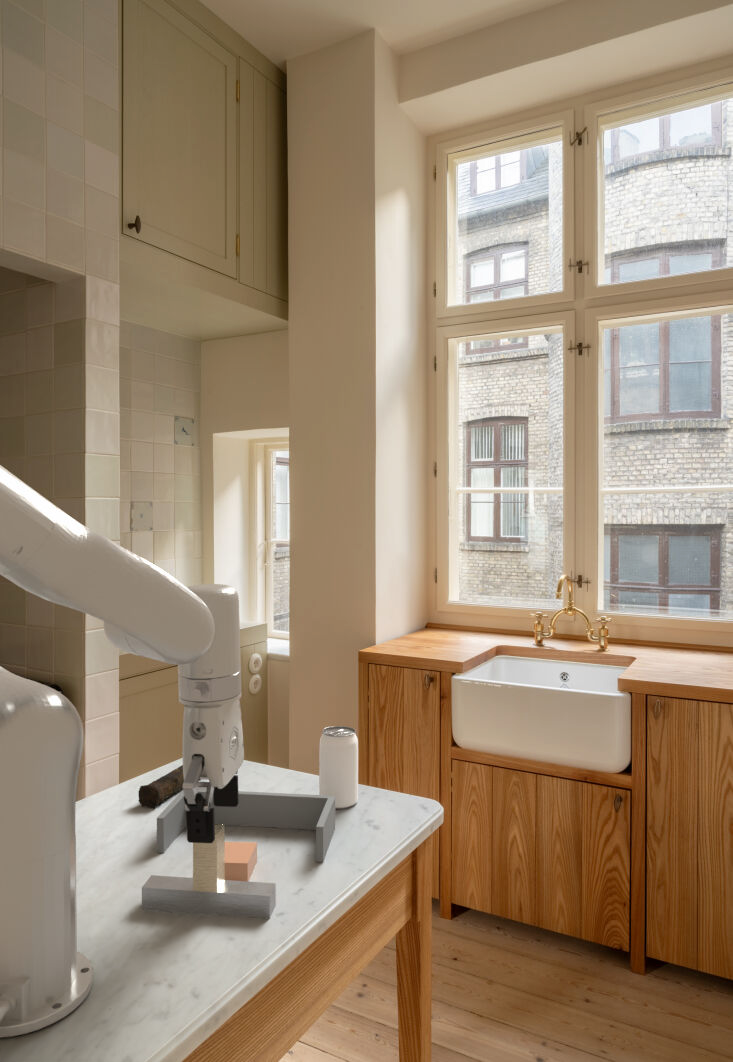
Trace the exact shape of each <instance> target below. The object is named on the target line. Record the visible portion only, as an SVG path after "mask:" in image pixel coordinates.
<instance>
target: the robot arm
mask: <svg viewBox="0 0 733 1062" xmlns="http://www.w3.org/2000/svg"><path fill="white" fill-rule="evenodd" d="M0 576H2V577H4V578H5V579H7V580H8V581H10V582H11V583H13V584H15V585H16V586H18V588H21V589H22V590H24V591H25V592H28V593H30V594H33V595H35V596H37V597H39V598H41V599H42V600H45V601H48V602H50V603H54V604H56V605H60V606H63V607H66V608H70V609H71V610H76V611H79V612H81V613H84V614H87V615H89V616H91V617H94V618H96V619H97V620H100V621H102V622H103V629H104V633H105V635H106V637H107V639H108V640H109V641H110V643H111V644H113V645H114V646H115V647H116V648H118V649H119V650H120V651H123V652H126V653H127V654H132V655H134V656H139V657H143V658H147V659H152V660H156V661H158V662H161V663H162V662H163V663H166V664H170V665H176V666H177V683H178V703H180V704H182V705H184V706H183V720H182V765H183V776H184V783H183V788H182V790H183V792H184V795H185V796H184V801H185V810H186V821H187V825H186V841H187V842H189V843H192V844H193V843H213V841H214V840H215V821H214V808H211V804H212V798H213V799H214V805H215V806H222V807H236V806H237V805H238V803H239V796H238V791H239V775H237V774H238V772H239V769H240V768H241V766H242V765H243V763H244V761H245V748H244V733H243V721H242V710H241V702H240V699H241V698H242V696H243V695H242V667H241V666H242V665H241V637H240V636H241V633H240V632H241V629H240V628H241V627H240V622H241V621H240V600H239V594H238V591H237V590H236V588H234V587H233V586H231V585H228V584H220V583H217V584H216V583H205V584H203V583H202V584H195V585H190V586H185V585H184V584H182V583H181V582H180V581H179V580H178V579H176V578H175V577H173V576H172V575H171V574H169V573H168V572H166V571H164V569H162V568H160V567H158V566H157V565H155V564H153V563H152V562H150V561H149V560H147V559H145V558H143V557H141V556H139V555H138V554H136V553H134V552H132V551H130V550H129V549H127V548H126V547H123V546H121V545H120V544H118V543H117V542H114V541H112V540H111V539H110V538H109V537H106V536H104V535H103V534H102V533H99V532H97V531H96V530H93V529H92V528H89V527H87V526H85V525H84V524H82V523H81V522H79V521H78V520H76V519H75V518H74V517H72V516H70V515H69V514H67V512H65V511H64V510H62V509H61V508H59V506H57V505H55V504H54V503H52V502H51V501H50V500H48V499H47V498H46V497H44V496H43V495H42V494H40V493H39V492H38V491H36V490H35V489H34V488H32V487H31V486H29V485H28V484H26V483H25V482H24V481H22V480H21V479H20V478H18V477H17V476H16V475H14V473H12V472H11V471H9V470H8V469H6V468H5V467H4V466H2V465H1V464H0ZM83 748H84V725H83V721H82V718H81V716H80V714H79V711H78V710H77V708H76V707H75V705H74V704H73V703H72V701H70V699H69V698H68V697H66V696H65V695H64V694H62V693H61V692H60V691H58V690H56V689H55V688H52V687H50V686H48V685H46V684H42V683H40V682H38V681H35V680H31V679H28V678H25V677H22V676H20V675H17V674H15V673H12V672H10V671H9V670H7V669H6V668H4V667H2V666H1V665H0V1038H11V1037H16V1036H21V1035H26V1034H29V1033H33V1032H35V1031H36V1032H37V1031H39V1030H41V1029H44V1028H46V1027H49V1026H50V1025H52V1024H54V1023H56V1022H58V1021H60V1020H62V1019H63V1018H65V1017H66V1016H68V1015H69V1014H71V1013H72V1012H73V1011H75V1009H77V1008H78V1007H79V1006H80V1005H81V1004H82V1003H83V1002H84V1001H85V999H86V998H87V996H88V995H89V993H90V992H91V989H92V987H93V982H94V969H93V968H94V967H93V965H92V962H91V961H90V959H89V958H88V957H87V956H86V955H85V954H83V953H82V952H80V951H78V941H77V940H78V938H77V937H78V935H77V934H78V933H77V932H78V930H77V929H78V928H77V925H78V924H77V922H78V921H77V911H78V910H77V836H76V805H77V804H76V802H77V787H78V786H77V785H78V778H79V771H80V765H81V760H82V755H83ZM199 779H201V780H205V781H199ZM206 780H208V781H206ZM198 790H206V795H205V799H204V797H203V796H202V794H201V793H198Z"/></svg>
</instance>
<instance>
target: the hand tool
mask: <svg viewBox="0 0 733 1062" xmlns="http://www.w3.org/2000/svg"><path fill="white" fill-rule="evenodd" d="M201 780H202V779H199V782H201ZM183 783H184V776H183V764H182V765H180V766H178V767H176V768H175V769H173V770H171V771H170V772H168V773H166V774H165V775H163V776H160V777H158V779H156V780H153V781H152V782H150V783H148V784H145V785H140V787H138V788H139V790H138V800H137V801H138V802H139V804H140V806H141V807H145V808H149V809H156V808H157V807H159V805H162V804H163V802H164V800H166V799H167V798H169V797H170V796H172V795H173V794H175V793H177V792H178V791H180V790H182V789H183Z"/></svg>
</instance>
